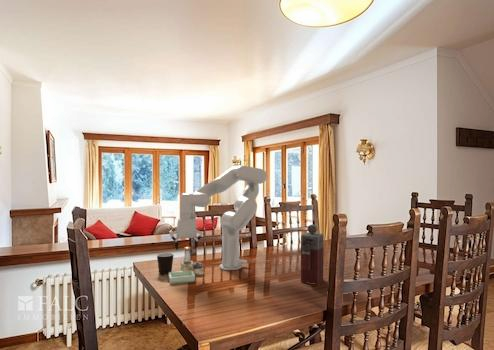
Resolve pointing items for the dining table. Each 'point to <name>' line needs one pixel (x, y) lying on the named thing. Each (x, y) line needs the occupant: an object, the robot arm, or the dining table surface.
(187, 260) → the pin
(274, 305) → the dining table surface
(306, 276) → the dark red bottle
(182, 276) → the tray
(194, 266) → the pulley block
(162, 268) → the coffee mug
